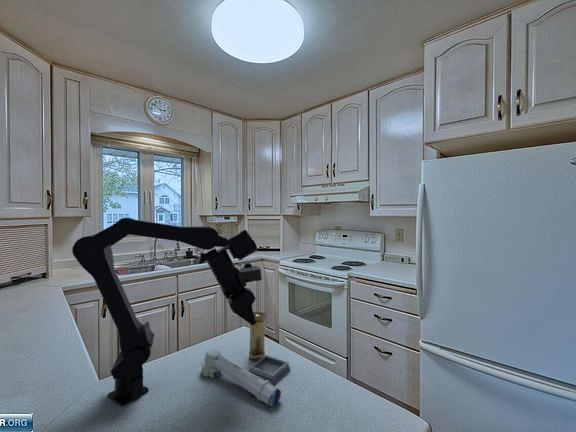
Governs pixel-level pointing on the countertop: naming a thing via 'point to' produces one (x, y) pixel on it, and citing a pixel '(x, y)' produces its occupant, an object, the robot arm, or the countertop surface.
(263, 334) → the brass domed cylinder
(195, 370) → the countertop surface
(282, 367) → the shallow square tray
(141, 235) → the robot arm
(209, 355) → the white long piece
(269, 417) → the countertop surface
